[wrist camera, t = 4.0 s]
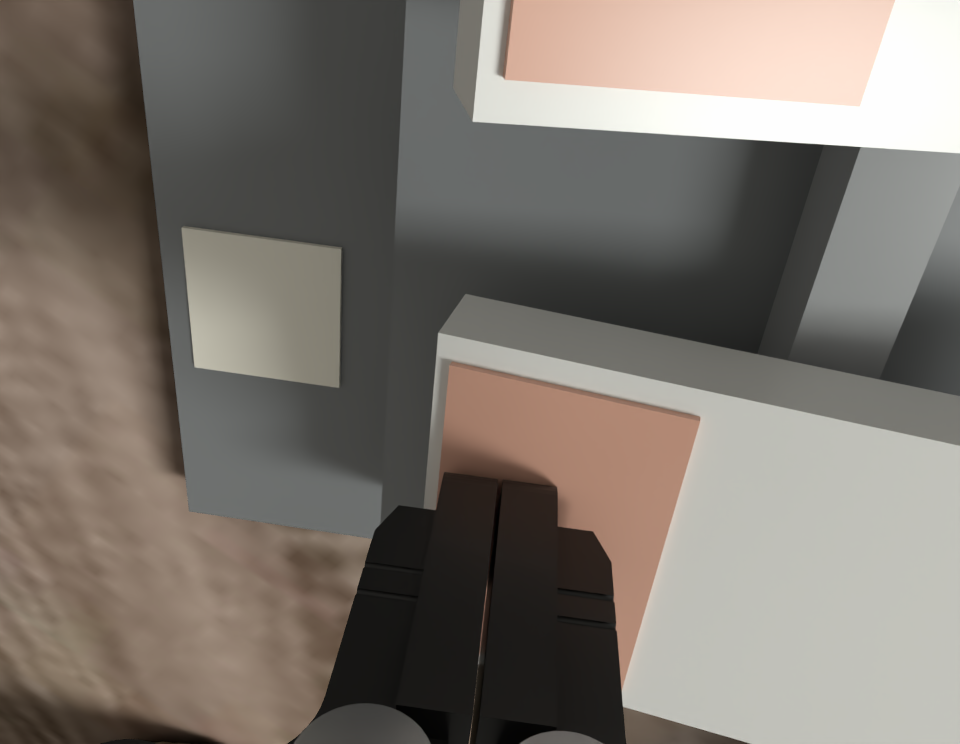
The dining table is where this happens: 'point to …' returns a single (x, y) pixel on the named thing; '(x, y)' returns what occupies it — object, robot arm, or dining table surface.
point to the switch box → (476, 244)
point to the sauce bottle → (169, 743)
